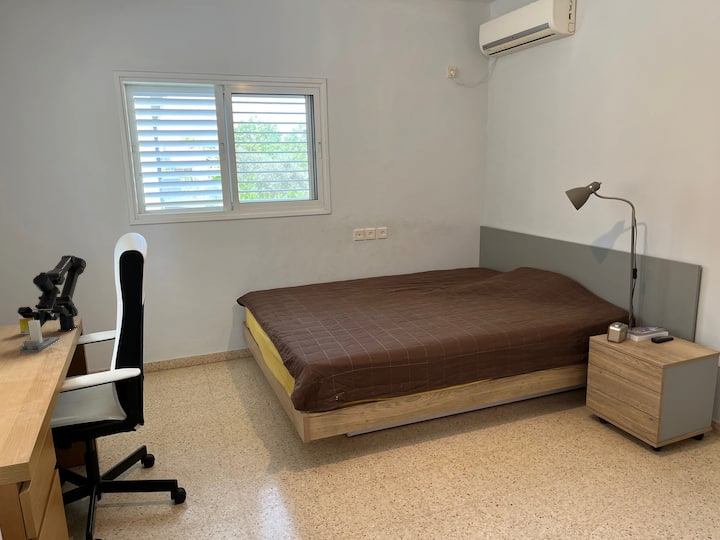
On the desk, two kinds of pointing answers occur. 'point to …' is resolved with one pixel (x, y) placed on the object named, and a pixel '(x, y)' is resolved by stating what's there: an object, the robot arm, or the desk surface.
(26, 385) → the desk surface
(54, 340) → the console
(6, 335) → the desk surface
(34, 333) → the fader tab
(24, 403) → the desk surface
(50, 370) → the desk surface
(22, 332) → the supplement bottle
